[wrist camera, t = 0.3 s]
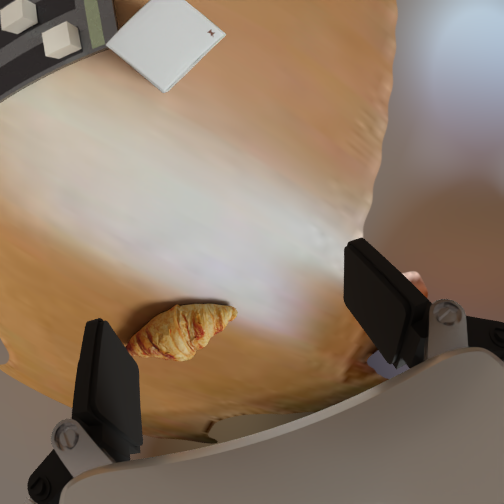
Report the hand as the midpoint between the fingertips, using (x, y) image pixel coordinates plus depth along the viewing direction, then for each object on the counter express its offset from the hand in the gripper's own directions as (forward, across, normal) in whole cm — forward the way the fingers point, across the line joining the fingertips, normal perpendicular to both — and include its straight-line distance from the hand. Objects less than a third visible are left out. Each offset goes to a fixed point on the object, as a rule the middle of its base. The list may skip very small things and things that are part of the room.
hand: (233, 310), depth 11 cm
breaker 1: (+28, +15, -25) cm, 40 cm away
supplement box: (+30, -1, -12) cm, 33 cm away
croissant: (+31, +10, +28) cm, 43 cm away
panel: (+30, +15, -25) cm, 42 cm away
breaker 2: (+28, +10, -18) cm, 35 cm away
